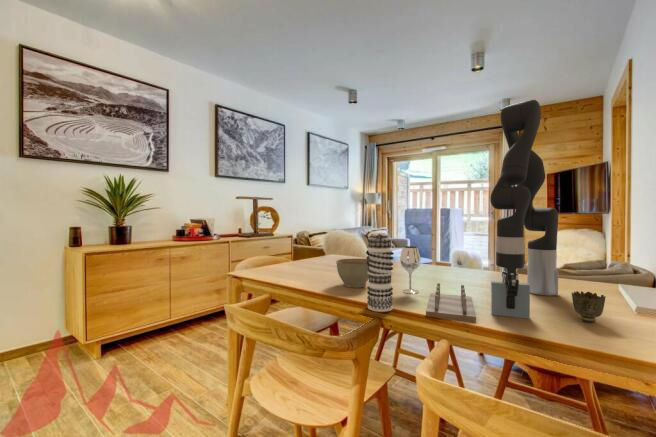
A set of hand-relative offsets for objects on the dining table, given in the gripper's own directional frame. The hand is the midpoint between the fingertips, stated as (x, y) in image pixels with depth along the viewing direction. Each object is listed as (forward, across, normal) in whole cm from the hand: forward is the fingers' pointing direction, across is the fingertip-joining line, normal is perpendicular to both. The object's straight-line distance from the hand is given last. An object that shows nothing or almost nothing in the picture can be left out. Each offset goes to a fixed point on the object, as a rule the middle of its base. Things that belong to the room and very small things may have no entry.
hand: (509, 306), depth 93 cm
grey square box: (+3, 0, 0) cm, 3 cm away
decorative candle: (+3, -7, +39) cm, 40 cm away
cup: (+3, +2, -20) cm, 20 cm away
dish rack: (+3, +1, +17) cm, 17 cm away
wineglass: (+3, +17, +32) cm, 36 cm away
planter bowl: (+3, +19, +56) cm, 59 cm away
